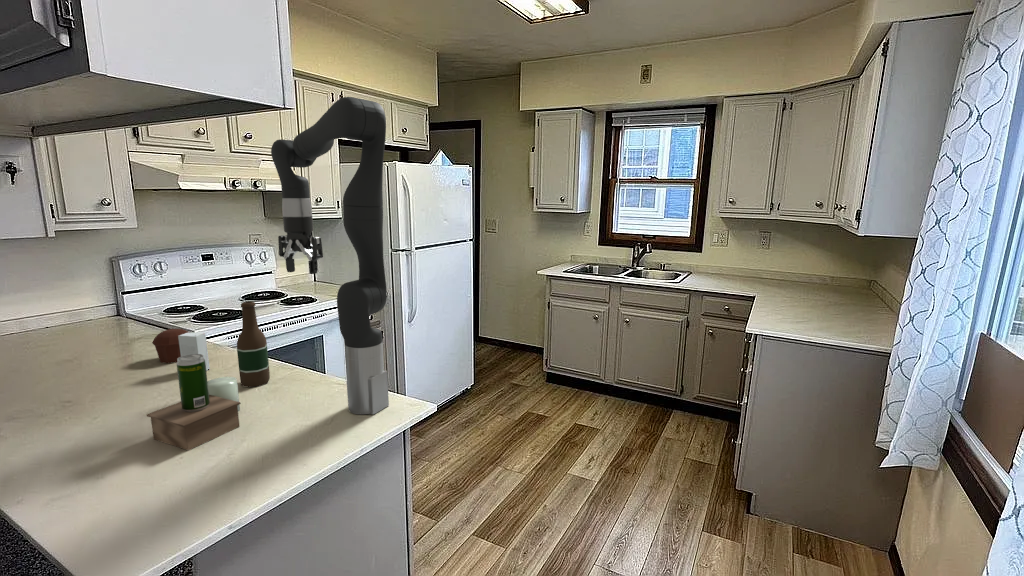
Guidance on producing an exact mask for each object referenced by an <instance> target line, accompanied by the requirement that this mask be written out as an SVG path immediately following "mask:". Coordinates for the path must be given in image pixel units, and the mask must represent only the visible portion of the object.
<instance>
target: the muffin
mask: <svg viewBox="0 0 1024 576" xmlns="http://www.w3.org/2000/svg"><path fill="white" fill-rule="evenodd" d="M188 332H189V333H191V332H190V331H188V330H186V329H183V328H169V329H166V330H162V331H161V332H159V333H158V334H156V336H155V337H154V339H153V340H152V342H151V344H153V346H154V348H155V350H156V353H157V356H158V359H159V361H160V362H161V364H172V363H171V362H175V363H177V359H178V358H179V357H181V353H180V346H179V339H178V336H179V335H182V334H185V333H188Z"/></svg>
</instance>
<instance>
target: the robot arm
mask: <svg viewBox="0 0 1024 576" xmlns="http://www.w3.org/2000/svg"><path fill="white" fill-rule="evenodd" d="M386 133H387V117H386V112H385V109H384V108H383V106H382V105H381V103H379V102H376V101H373V100H369V99H364V98H358V97H353V96H343V97H341V98H339V99H337V100H336V101H335V102H333V103H332V105H331V106H329V108H328V109H327V110H326V112H324V113H323V114H322V115H321V117H320V118H319V119H318V120H317V122H315V123H314V124H313V125H311V126H310V127H308V128H307V129H305V130H303V131H302V132H299V133H298V134H297V135H295V137H294V139H293V140H292V139H291V140H290V139H281V138H280V139H277V140H275V141H274V142H273V143H272V145H271V149H270V153H271V158H272V161H273V165H274V167H275V169H276V172H277V175H278V178H279V181H280V185H281V198H282V200H281V201H282V203H281V209H282V211H281V212H282V222H283V223H282V225H283V231H284V233H286V234H281V235H278V236H277V238H278V239H277V241H278V243H277V244H278V255H279V257H280V258H281V257H282V258H284V260H285V268H286V272H287V273H294V272H295V271H296V267H295V258H294V257H295V256H296V253H298V252H299V253H302V254H303V255H305V257H306V258H307V259H308V261H307V262H308V272H309V275H314V274H315V275H316V274H318V271H319V267H318V260H319V259H323V257H324V253H323V244H322V238H321V236H312V232H314V222H313V221H314V220H313V209H312V202H311V193H310V183H309V179H308V178H307V177H304V176H301V175H297V173H295V172H294V171H293V168H308V167H312V165H313V164H314V163H315V161H316V160H317V159H318V158H319V157H322V156H323V155H325V154H327V153H328V152H330V150H331V149H332V148H333V147H334V143H335V140H338V139H347V140H350V141H351V140H352V141H357V142H358V141H359V142H361V155H360V161H359V165H358V167H357V169H356V171H355V174H354V175H353V177H352V178H351V180H350V181H349V184H348V185H347V187H346V189H345V191H344V194H343V198H342V217H343V219H342V222H343V227H344V231H345V233H346V235H347V238H348V239H349V241H350V243H351V245H352V247H353V249H354V251H355V253H356V256H357V260H358V279H354V280H352V281H347V282H345V283H342V285H341V286H339V289H338V290H337V296H336V306H337V307H336V308H337V316H338V317H337V318H338V322H339V323H338V324H339V325H338V326H339V330H340V333H341V336H342V338H343V346H344V361H345V363H344V364H345V378H346V392H347V393H346V395H347V407H348V411H349V412H350V413H351V414H353V415H354V414H355V415H375V414H377V413H379V412H380V411H382V410H383V409H386V408H387V407H389V406H390V403H389V402H390V401H389V383H388V382H389V379H388V378H389V377H388V371H387V370H386V369H385V368H384V366H385V365H384V343H383V332H382V331H381V330H380V328H376V327H372V325H371V319H370V316H371V315H374V314H376V313H379V312H380V311H382V310H383V309H384V307H385V306H386V303H387V301H388V300H387V298H388V290H387V280H386V272H385V271H386V270H385V261H384V236H383V235H384V234H383V230H384V228H383V227H384V200H383V197H384V196H383V193H384V192H383V185H384V183H383V181H384V179H383V175H384V174H383V173H384V172H383V171H384V157H385V156H384V155H385V148H386V147H385V146H386V136H387V135H386Z"/></svg>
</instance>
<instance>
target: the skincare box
mask: <svg viewBox="0 0 1024 576" xmlns="http://www.w3.org/2000/svg"><path fill="white" fill-rule="evenodd" d="M189 332H190V331H188V333H185V334H182V335H179V336H178V339H179V346H180V353H181V356H185V355H190V354H202V355H203V357H204V359H205V365H206V372H208V371H209V370H210V369H211V367H210V360H209V353H208V344H207V336H206V333H205V332H190V333H189ZM208 369H209V370H208Z"/></svg>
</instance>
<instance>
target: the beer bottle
mask: <svg viewBox="0 0 1024 576" xmlns="http://www.w3.org/2000/svg"><path fill="white" fill-rule="evenodd" d="M255 306H256V302H255V301H251V300H250V301H249V300H248V301H243V302H241V304H240V307H241V315H242V317H241V319H242V321H241V322H242V327H241V328H242V329H241V332H240V334H239V335H238V337H237V341H236V351H237V363H238V370H239V371H238V373H239V380H240V385H241V386H242V387H245V388H256V387H261V386H263V385H266V384H268V383H269V381H270V380H271V377H270V376H271V375H270V362H269V361H270V360H269V352H268V342H267V338H266V335H265V334H264V332H263V331H262V330H261V329H260V327H259V324H258V319H257V315H256V314H257V313H256V307H255Z"/></svg>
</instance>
